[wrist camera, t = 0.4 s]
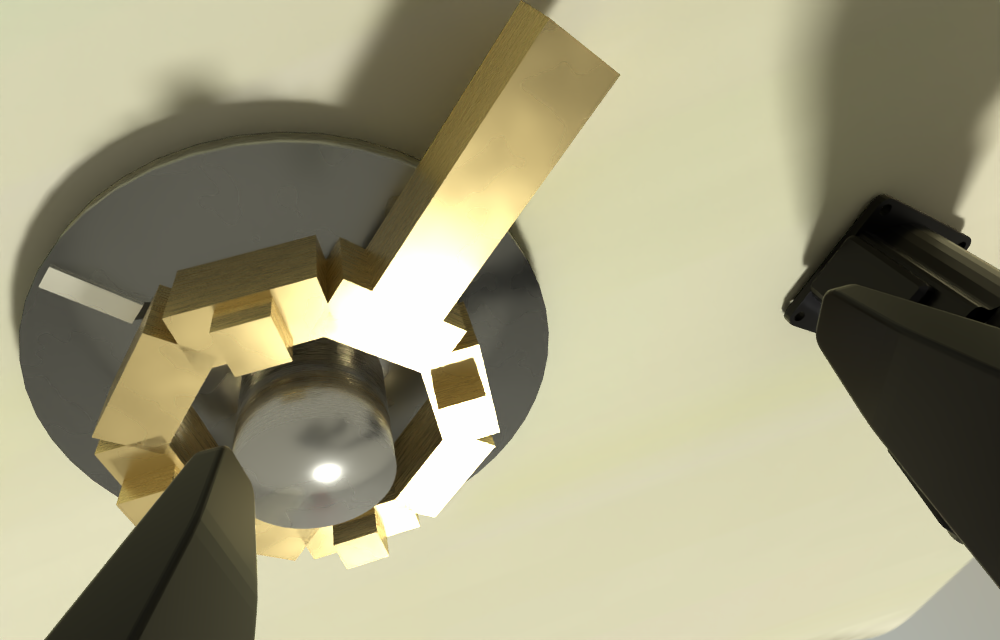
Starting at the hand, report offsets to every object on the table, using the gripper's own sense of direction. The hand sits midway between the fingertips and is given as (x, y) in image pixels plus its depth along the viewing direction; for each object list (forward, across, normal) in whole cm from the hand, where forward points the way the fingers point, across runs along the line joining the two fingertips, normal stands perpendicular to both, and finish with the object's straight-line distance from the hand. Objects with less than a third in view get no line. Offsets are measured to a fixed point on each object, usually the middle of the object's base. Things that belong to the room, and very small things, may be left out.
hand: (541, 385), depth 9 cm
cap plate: (+13, +6, +8) cm, 16 cm away
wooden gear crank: (+11, +3, +5) cm, 13 cm away
